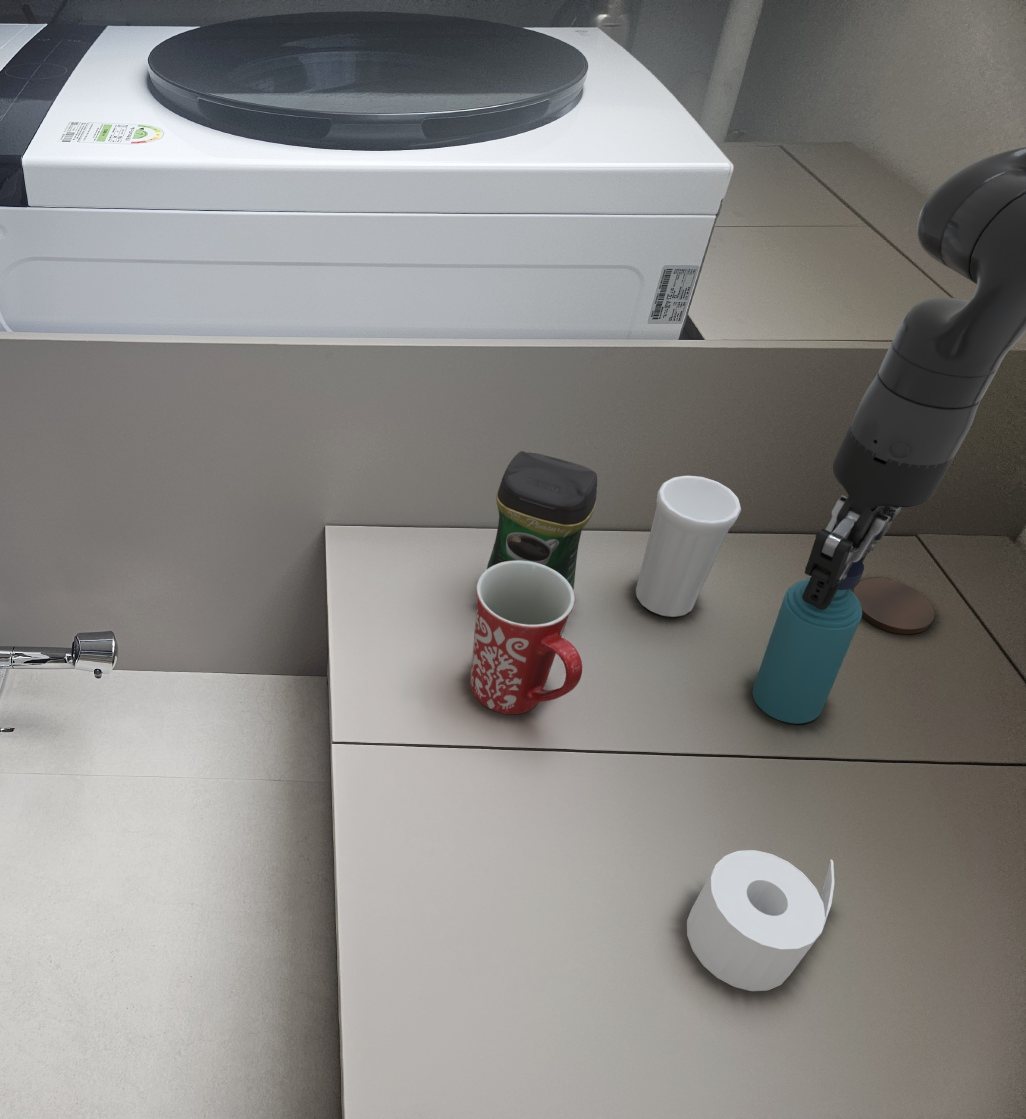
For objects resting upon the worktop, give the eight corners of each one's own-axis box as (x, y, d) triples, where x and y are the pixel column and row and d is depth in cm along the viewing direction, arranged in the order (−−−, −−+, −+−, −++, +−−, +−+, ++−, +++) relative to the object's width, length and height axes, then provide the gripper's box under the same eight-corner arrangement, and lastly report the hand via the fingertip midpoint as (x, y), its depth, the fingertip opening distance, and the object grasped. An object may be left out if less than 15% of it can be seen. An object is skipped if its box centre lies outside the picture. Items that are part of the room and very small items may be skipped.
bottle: (830, 691, 97) (885, 562, 86) (811, 733, 93) (866, 604, 82) (763, 666, 100) (808, 538, 89) (743, 706, 97) (787, 577, 86)
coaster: (939, 603, 107) (942, 598, 106) (921, 645, 102) (924, 640, 102) (862, 573, 111) (864, 568, 110) (841, 612, 106) (844, 607, 106)
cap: (843, 558, 88) (847, 545, 87) (868, 586, 85) (873, 574, 84) (800, 564, 88) (805, 551, 87) (824, 593, 85) (829, 580, 84)
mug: (442, 671, 100) (457, 576, 91) (515, 643, 103) (536, 548, 94) (515, 761, 92) (538, 667, 83) (591, 728, 95) (622, 633, 86)
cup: (699, 633, 104) (740, 532, 94) (621, 613, 106) (654, 513, 97) (704, 585, 110) (744, 484, 100) (631, 567, 112) (662, 467, 102)
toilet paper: (824, 912, 80) (856, 868, 76) (768, 1013, 74) (799, 972, 70) (728, 852, 85) (753, 807, 80) (668, 943, 78) (692, 900, 74)
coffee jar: (577, 594, 109) (613, 460, 96) (555, 640, 104) (590, 504, 91) (494, 567, 112) (519, 434, 100) (470, 609, 107) (492, 475, 95)
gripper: (894, 381, 82) (821, 536, 93) (815, 450, 75) (747, 608, 86) (990, 417, 77) (902, 575, 89) (916, 493, 70) (830, 654, 82)
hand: (826, 590), depth 87 cm, fingers closed on cap, 4 cm apart
